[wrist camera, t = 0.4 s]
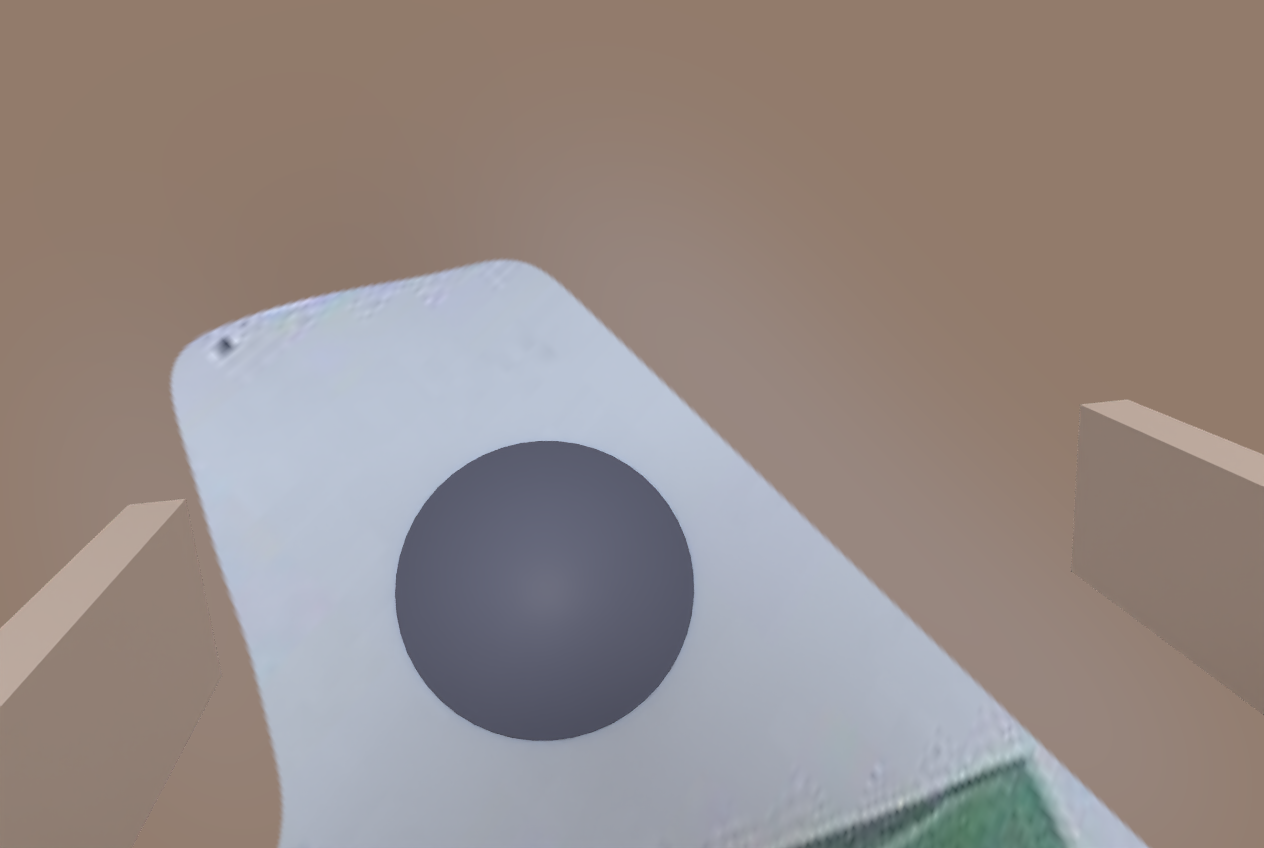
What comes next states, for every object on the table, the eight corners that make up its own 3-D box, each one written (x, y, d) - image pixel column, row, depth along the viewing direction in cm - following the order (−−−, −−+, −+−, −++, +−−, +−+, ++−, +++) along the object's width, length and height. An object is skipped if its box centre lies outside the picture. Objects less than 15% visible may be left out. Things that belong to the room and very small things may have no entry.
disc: (753, 599, 48) (754, 599, 48) (527, 808, 45) (527, 808, 45) (562, 386, 50) (562, 385, 50) (334, 571, 47) (334, 570, 47)
